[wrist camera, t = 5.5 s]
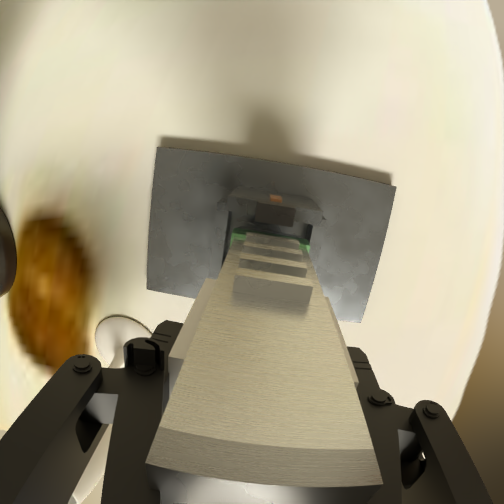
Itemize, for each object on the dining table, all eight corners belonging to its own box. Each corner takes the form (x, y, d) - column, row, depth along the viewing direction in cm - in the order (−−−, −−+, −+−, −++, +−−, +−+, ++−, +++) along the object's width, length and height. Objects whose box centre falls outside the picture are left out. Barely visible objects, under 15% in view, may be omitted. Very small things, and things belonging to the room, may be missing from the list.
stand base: (150, 284, 32) (111, 331, 23) (161, 147, 28) (115, 146, 19) (358, 317, 32) (384, 373, 23) (391, 185, 28) (440, 200, 19)
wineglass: (165, 330, 34) (84, 486, 14) (156, 384, 36) (96, 524, 16) (97, 305, 34) (-16, 426, 14) (95, 361, 36) (12, 479, 16)
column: (227, 286, 24) (154, 536, 6) (237, 216, 22) (130, 438, 4) (292, 296, 24) (320, 553, 6) (306, 227, 22) (407, 463, 4)
